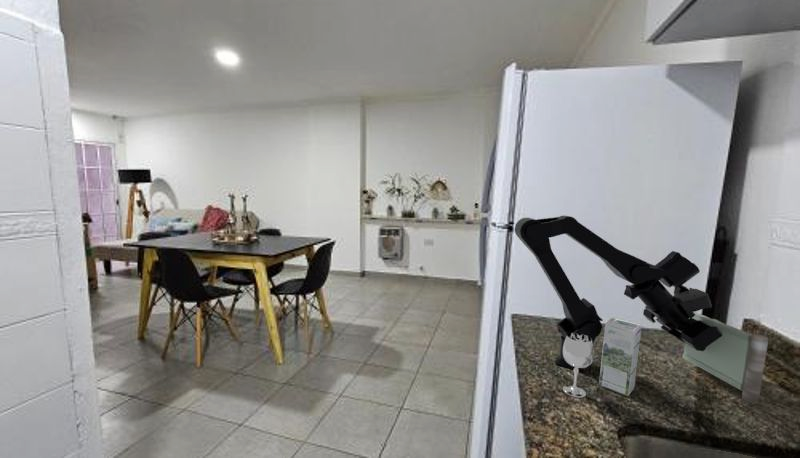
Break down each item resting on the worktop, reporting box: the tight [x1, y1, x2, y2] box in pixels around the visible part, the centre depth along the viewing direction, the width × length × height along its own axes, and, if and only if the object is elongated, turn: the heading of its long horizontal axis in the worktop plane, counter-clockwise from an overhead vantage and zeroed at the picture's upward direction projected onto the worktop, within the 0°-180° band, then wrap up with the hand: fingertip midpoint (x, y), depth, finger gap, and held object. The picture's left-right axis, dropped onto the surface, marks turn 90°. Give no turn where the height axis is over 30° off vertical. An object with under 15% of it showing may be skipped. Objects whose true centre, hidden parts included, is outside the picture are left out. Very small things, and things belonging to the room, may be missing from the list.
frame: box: [713, 318, 769, 405], centre depth 79 cm, size 17×4×14 cm, turn 173°
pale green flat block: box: [682, 311, 753, 391], centre depth 80 cm, size 14×2×12 cm, turn 4°
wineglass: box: [562, 333, 595, 399], centre depth 73 cm, size 6×6×12 cm
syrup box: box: [598, 317, 642, 397], centre depth 75 cm, size 6×6×14 cm
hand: (701, 348), depth 83 cm, fingers closed
